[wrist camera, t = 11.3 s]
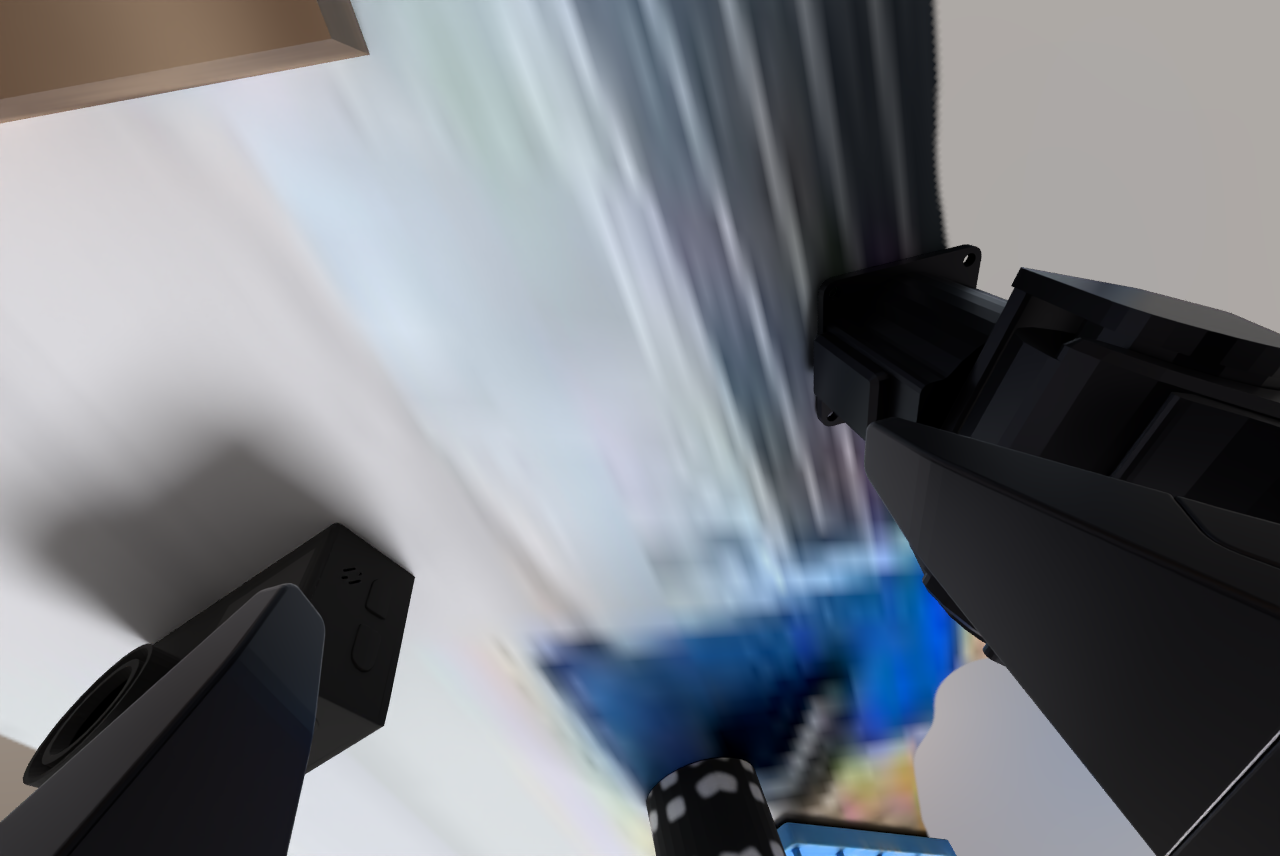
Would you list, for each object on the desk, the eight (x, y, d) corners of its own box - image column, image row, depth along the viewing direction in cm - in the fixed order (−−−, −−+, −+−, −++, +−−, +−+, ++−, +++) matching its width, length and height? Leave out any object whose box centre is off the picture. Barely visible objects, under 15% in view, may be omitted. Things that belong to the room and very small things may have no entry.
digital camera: (315, 500, 21) (236, 655, 15) (417, 574, 23) (385, 729, 18) (122, 631, 22) (-23, 823, 16) (242, 686, 25) (157, 866, 19)
